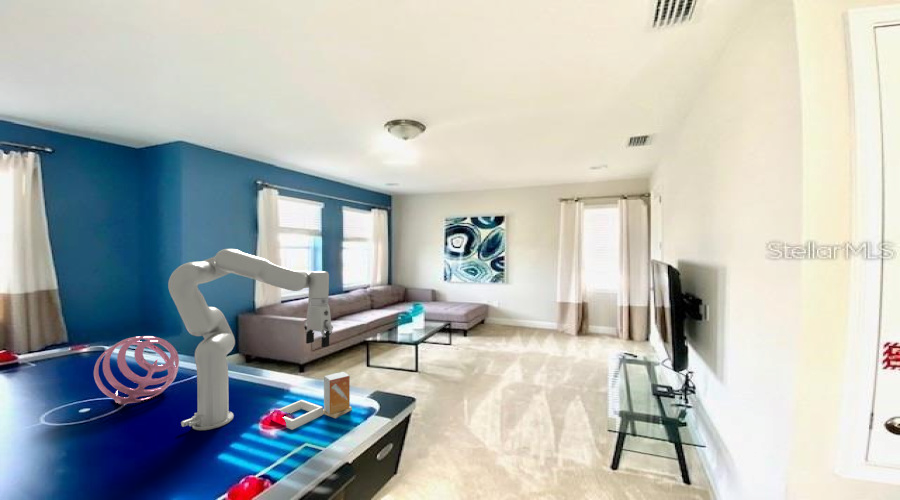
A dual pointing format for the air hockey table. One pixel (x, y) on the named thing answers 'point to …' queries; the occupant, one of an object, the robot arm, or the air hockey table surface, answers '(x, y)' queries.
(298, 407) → the tray
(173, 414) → the air hockey table surface
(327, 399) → the small box
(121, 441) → the air hockey table surface
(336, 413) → the board
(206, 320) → the robot arm
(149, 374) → the spiral basket
